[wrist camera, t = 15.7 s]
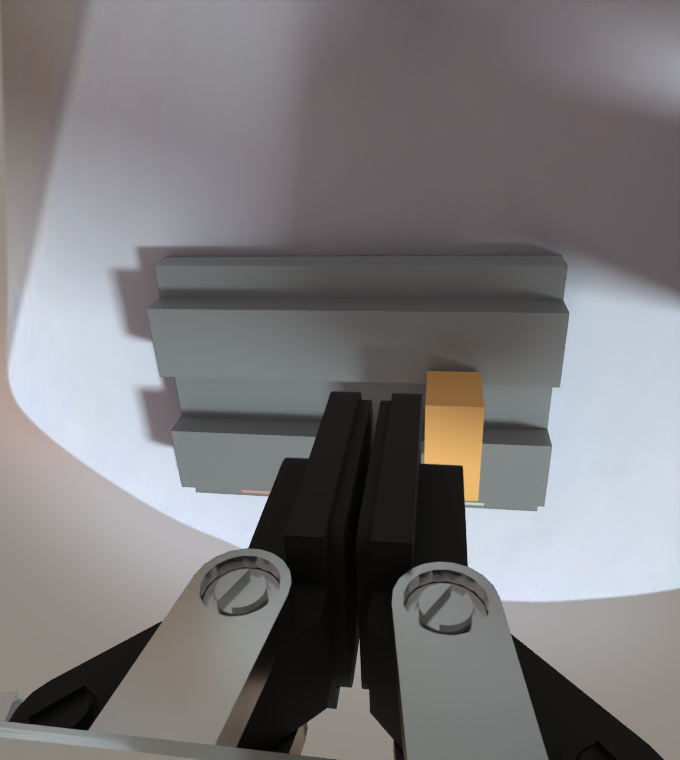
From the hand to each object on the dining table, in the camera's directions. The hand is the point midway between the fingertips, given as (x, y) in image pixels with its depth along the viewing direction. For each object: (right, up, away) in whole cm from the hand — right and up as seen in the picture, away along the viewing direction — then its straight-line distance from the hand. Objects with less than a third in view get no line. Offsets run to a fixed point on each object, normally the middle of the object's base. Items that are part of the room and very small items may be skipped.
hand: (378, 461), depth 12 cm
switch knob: (+6, 0, +27) cm, 28 cm away
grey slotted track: (+1, +1, +30) cm, 30 cm away
